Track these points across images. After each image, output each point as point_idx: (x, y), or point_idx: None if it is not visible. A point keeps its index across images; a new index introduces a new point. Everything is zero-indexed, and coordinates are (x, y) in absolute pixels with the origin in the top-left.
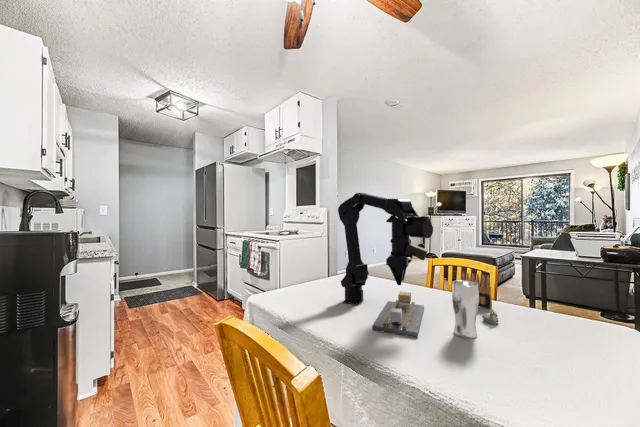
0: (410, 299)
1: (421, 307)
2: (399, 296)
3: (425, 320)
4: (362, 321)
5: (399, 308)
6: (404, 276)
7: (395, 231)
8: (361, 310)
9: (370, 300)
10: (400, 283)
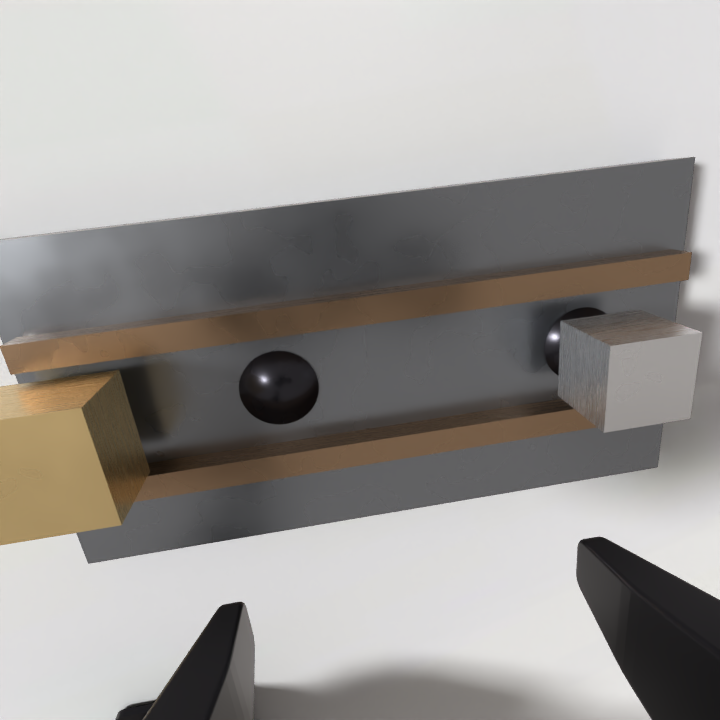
0: (42, 391)
1: (53, 256)
2: (125, 500)
3: (287, 170)
4: (521, 547)
5: (224, 426)
6: (216, 666)
7: None
8: (337, 628)
9: (85, 672)
10: (626, 560)
